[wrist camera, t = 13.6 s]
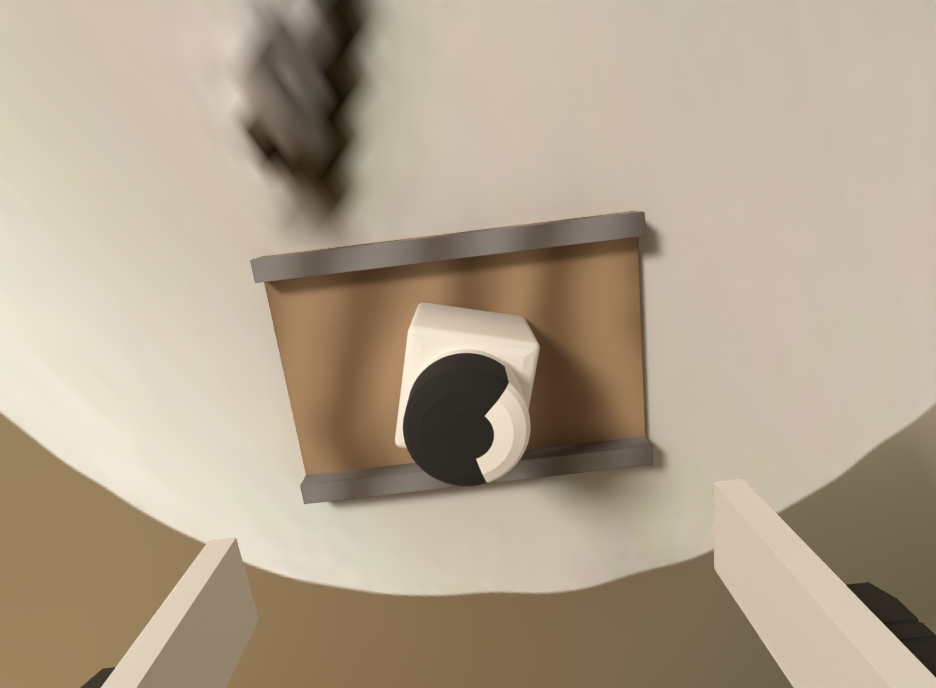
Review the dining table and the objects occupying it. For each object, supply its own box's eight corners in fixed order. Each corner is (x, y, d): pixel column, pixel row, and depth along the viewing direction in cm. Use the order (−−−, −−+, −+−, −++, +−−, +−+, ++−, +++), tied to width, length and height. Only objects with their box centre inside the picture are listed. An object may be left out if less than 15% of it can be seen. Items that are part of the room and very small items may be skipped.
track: (633, 211, 35) (644, 212, 33) (642, 450, 39) (652, 464, 37) (262, 256, 35) (250, 260, 33) (312, 488, 40) (304, 504, 38)
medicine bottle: (405, 402, 37) (381, 495, 26) (418, 300, 36) (397, 350, 24) (508, 416, 38) (530, 513, 26) (526, 315, 36) (557, 372, 24)
